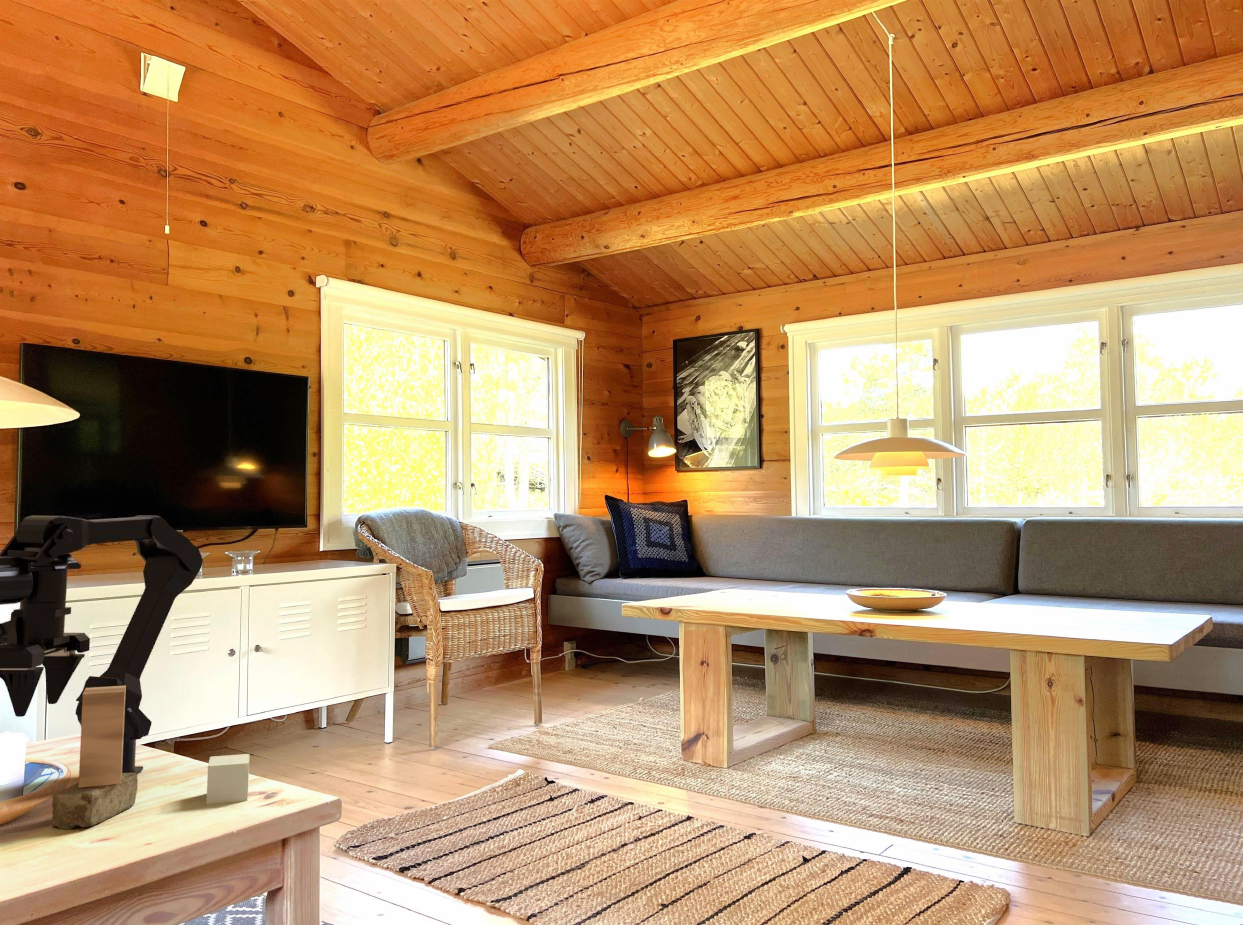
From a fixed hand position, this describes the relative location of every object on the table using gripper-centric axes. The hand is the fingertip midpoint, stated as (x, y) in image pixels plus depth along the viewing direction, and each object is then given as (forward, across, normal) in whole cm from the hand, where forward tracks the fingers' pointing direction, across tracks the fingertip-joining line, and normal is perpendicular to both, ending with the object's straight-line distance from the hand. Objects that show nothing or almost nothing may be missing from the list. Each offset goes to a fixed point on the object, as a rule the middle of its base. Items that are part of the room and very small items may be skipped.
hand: (36, 709), depth 135 cm
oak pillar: (+8, +7, +12) cm, 16 cm away
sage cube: (+13, -1, +27) cm, 30 cm away
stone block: (+14, +7, +12) cm, 19 cm away
